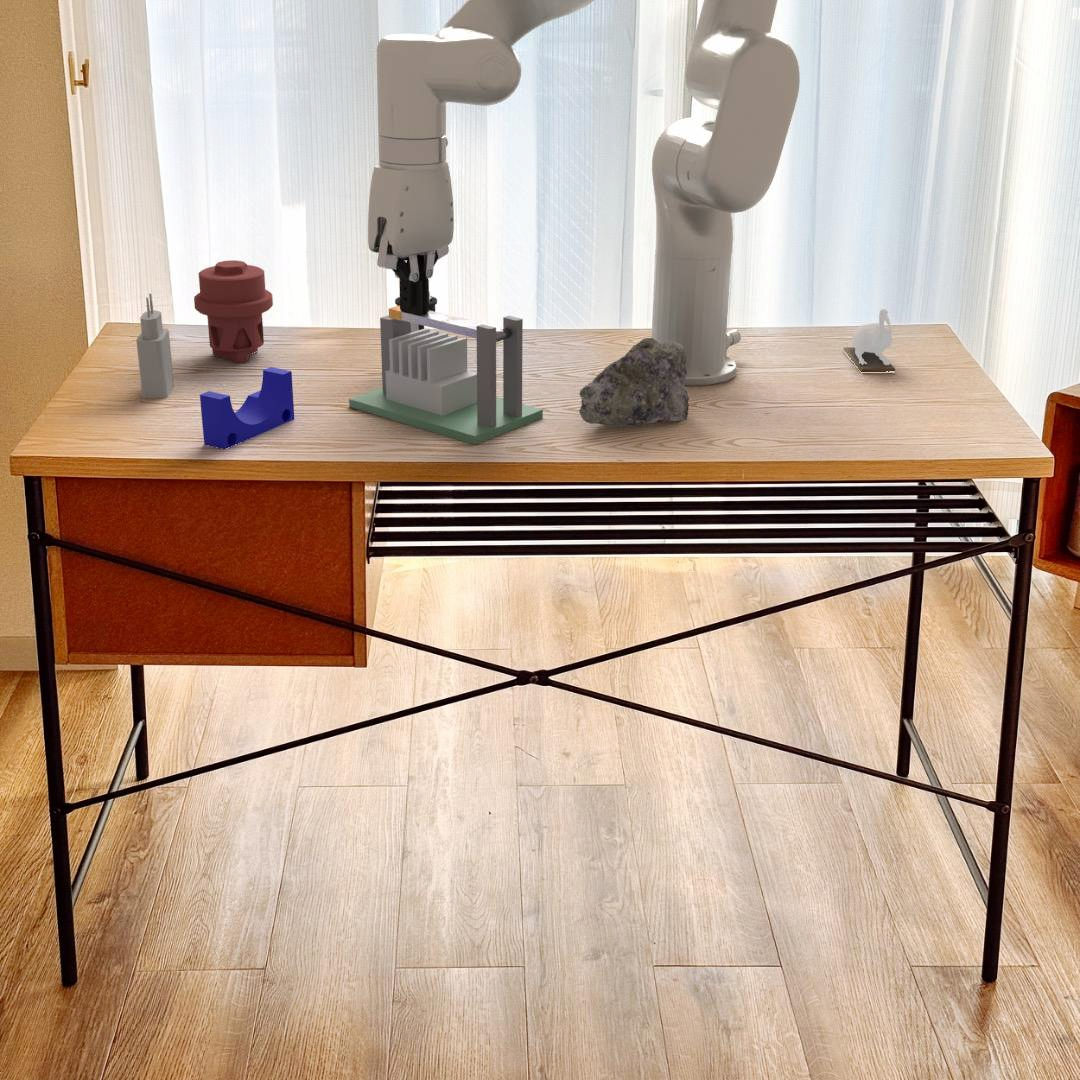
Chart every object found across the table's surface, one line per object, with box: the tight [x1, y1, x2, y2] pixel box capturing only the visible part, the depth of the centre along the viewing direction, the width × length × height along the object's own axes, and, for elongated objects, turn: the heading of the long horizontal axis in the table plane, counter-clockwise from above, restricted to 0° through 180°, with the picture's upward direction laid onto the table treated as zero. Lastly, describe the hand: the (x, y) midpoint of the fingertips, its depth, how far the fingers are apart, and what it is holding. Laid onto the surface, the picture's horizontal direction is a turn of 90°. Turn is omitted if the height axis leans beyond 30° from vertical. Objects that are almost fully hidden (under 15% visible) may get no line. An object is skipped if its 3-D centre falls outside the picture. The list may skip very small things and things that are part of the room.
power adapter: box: [135, 292, 175, 399], centre depth 177 cm, size 3×5×12 cm, turn 3°
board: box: [348, 314, 544, 445], centre depth 171 cm, size 12×20×12 cm, turn 51°
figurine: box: [842, 308, 896, 372], centre depth 190 cm, size 14×4×9 cm, turn 3°
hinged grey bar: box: [388, 305, 512, 343], centre depth 168 cm, size 3×17×1 cm, turn 51°
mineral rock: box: [578, 337, 690, 428], centre depth 170 cm, size 13×11×10 cm
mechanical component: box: [193, 259, 274, 364], centre depth 191 cm, size 12×10×10 cm
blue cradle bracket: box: [199, 366, 295, 450], centre depth 166 cm, size 12×4×6 cm, turn 149°
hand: (414, 311), depth 171 cm, fingers closed
